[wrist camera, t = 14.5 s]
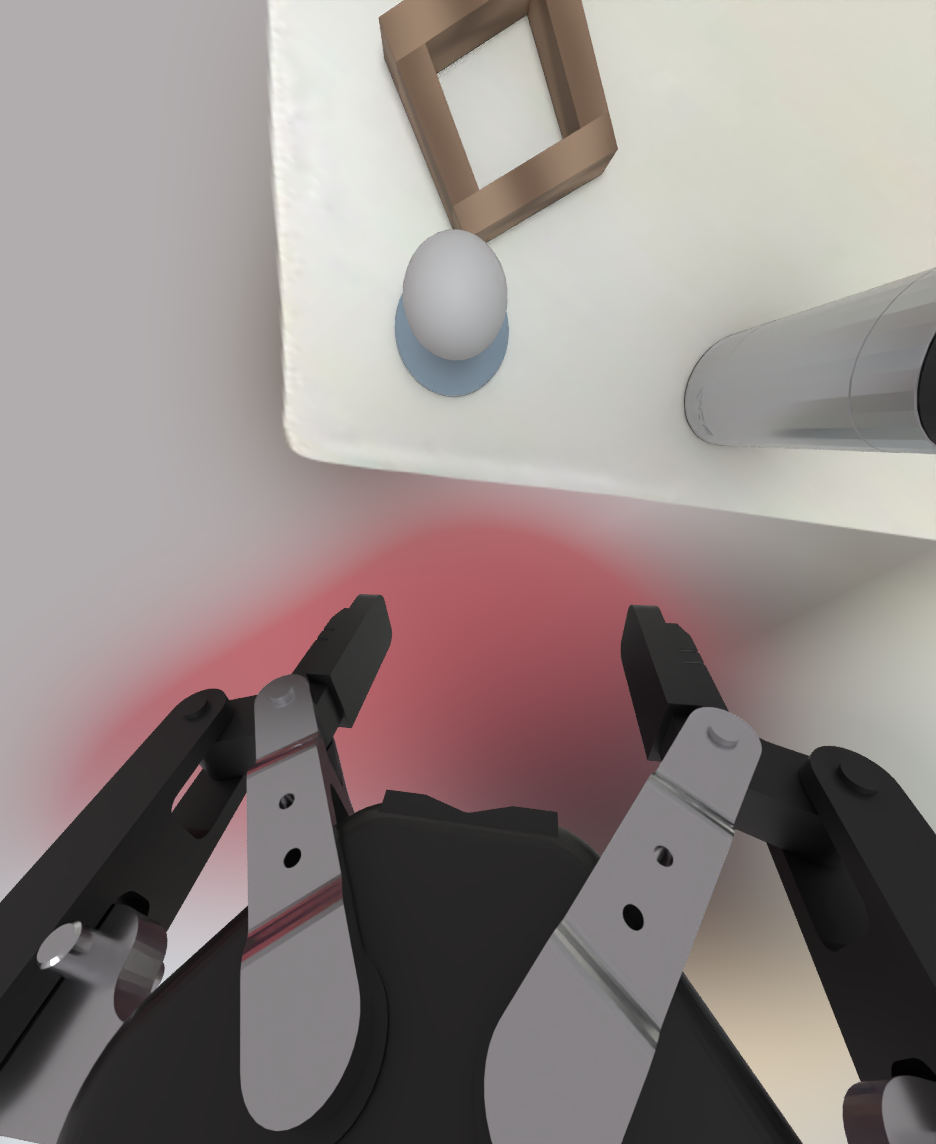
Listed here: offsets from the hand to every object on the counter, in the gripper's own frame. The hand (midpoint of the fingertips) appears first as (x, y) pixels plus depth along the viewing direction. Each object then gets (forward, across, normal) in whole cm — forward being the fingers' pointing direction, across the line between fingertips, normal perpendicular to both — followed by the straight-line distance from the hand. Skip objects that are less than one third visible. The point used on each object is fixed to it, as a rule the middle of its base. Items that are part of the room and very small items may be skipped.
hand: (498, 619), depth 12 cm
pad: (+26, +6, -8) cm, 27 cm away
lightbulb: (+25, +6, -8) cm, 27 cm away
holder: (+29, +2, -20) cm, 36 cm away
